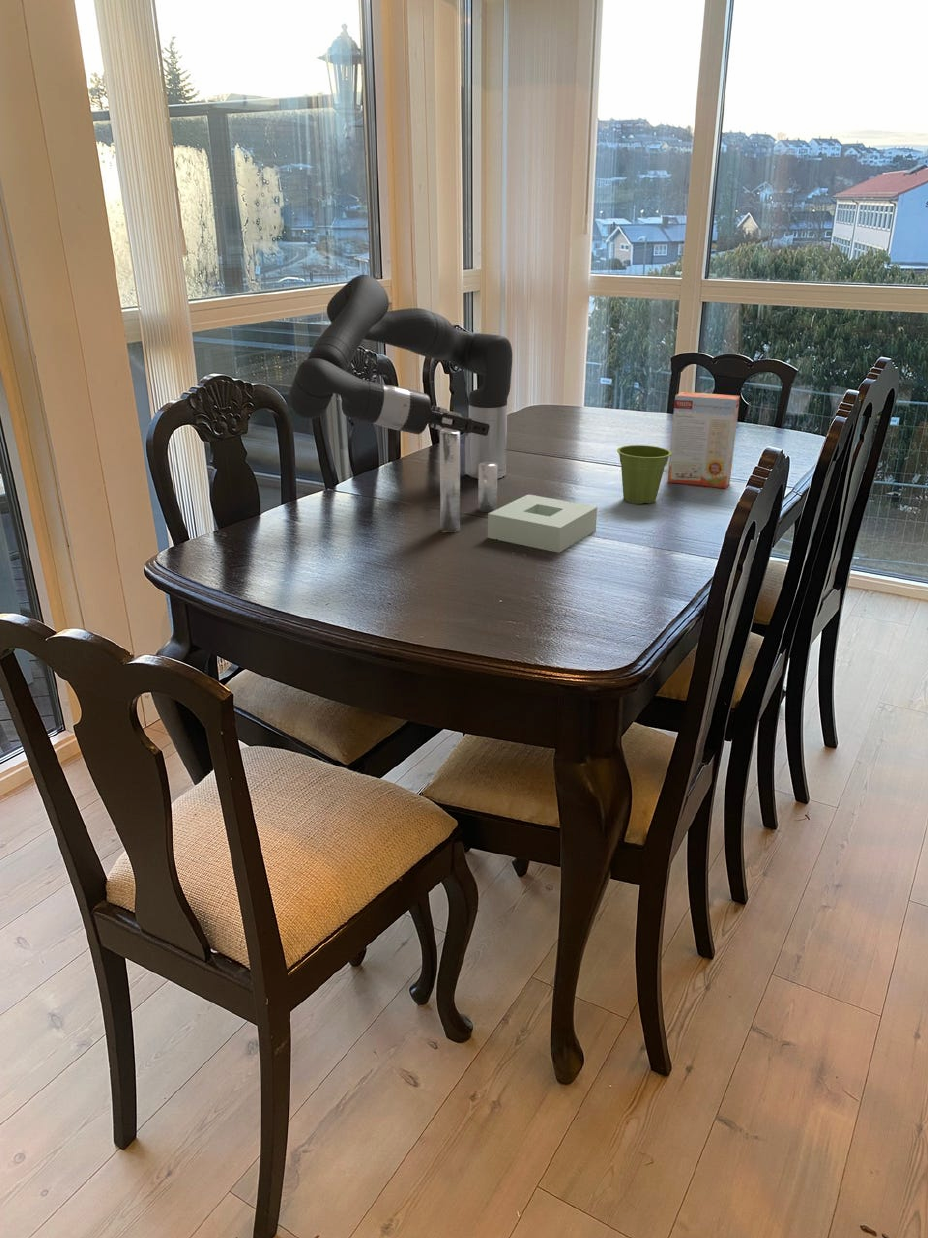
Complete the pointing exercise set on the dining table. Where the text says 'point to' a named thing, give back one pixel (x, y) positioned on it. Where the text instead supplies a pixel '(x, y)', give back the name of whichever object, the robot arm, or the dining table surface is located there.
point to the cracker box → (703, 439)
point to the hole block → (542, 522)
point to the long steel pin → (450, 481)
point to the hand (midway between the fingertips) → (478, 427)
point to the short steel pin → (487, 487)
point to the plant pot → (642, 472)
